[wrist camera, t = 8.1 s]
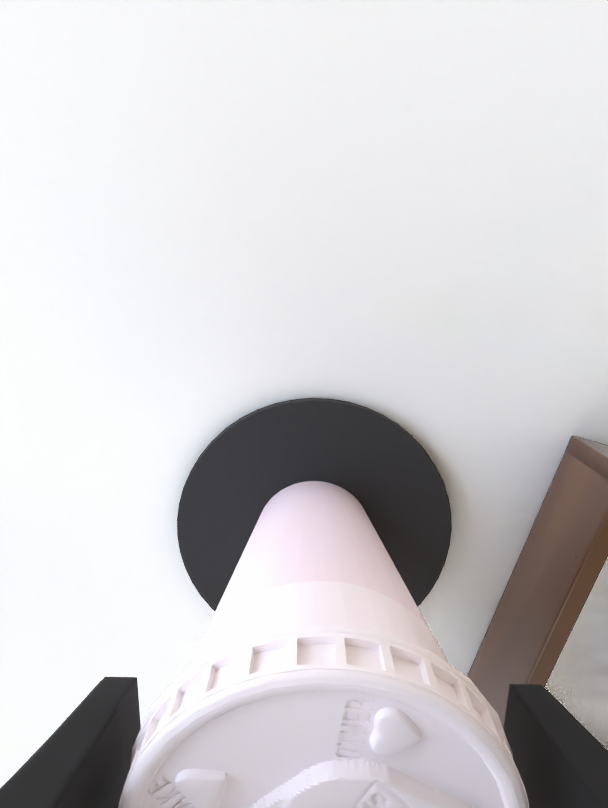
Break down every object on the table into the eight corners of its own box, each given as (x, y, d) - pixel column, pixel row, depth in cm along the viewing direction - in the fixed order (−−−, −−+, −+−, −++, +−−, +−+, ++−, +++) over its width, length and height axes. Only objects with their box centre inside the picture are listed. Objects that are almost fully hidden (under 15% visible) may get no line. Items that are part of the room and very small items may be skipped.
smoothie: (427, 596, 18) (811, 1624, 4) (245, 635, 18) (75, 1688, 5) (389, 419, 16) (803, 1168, 3) (190, 466, 17) (-298, 1322, 3)
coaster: (504, 500, 17) (509, 506, 17) (340, 684, 19) (341, 692, 19) (282, 341, 16) (282, 342, 16) (128, 554, 18) (125, 560, 18)
